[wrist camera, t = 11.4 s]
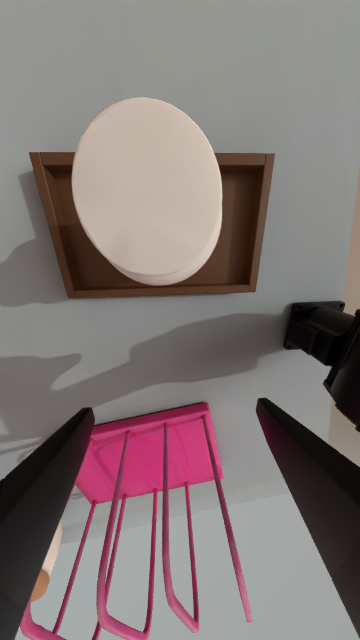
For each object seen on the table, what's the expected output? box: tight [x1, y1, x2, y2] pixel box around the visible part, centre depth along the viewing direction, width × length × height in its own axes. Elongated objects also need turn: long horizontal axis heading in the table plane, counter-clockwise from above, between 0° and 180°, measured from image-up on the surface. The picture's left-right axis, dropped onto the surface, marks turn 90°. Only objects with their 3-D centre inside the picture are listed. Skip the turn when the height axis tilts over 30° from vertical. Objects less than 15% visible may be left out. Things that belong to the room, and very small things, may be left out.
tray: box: [29, 152, 275, 299], centre depth 17 cm, size 20×12×2 cm, turn 91°
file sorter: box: [20, 403, 252, 640], centre depth 23 cm, size 17×25×16 cm
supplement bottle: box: [72, 97, 222, 285], centre depth 11 cm, size 7×7×13 cm
